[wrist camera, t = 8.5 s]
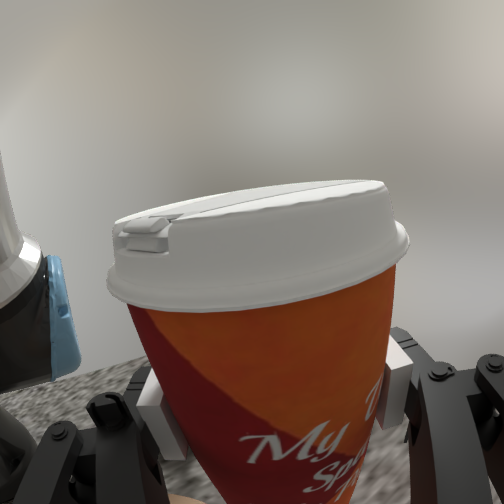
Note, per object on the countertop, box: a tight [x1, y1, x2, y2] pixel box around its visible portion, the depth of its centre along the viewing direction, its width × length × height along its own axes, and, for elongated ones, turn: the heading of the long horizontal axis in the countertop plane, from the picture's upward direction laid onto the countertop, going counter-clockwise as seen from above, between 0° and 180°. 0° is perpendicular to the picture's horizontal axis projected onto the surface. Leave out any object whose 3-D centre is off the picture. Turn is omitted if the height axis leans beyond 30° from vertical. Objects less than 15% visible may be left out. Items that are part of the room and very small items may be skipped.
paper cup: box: [107, 180, 410, 504], centre depth 9 cm, size 8×8×14 cm
